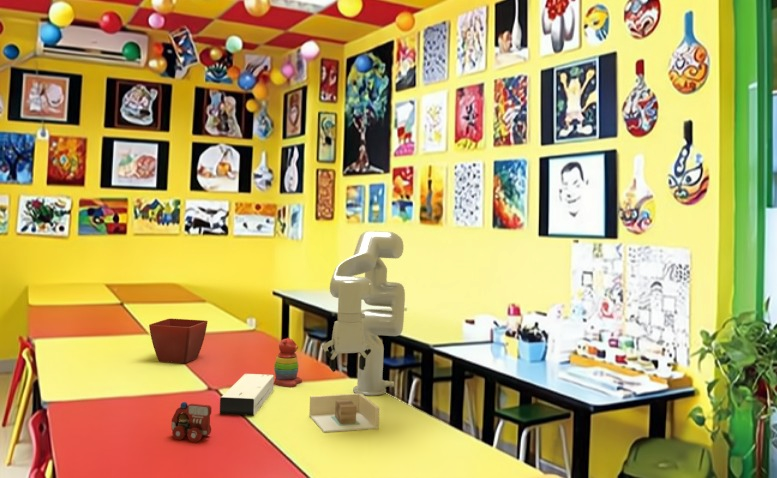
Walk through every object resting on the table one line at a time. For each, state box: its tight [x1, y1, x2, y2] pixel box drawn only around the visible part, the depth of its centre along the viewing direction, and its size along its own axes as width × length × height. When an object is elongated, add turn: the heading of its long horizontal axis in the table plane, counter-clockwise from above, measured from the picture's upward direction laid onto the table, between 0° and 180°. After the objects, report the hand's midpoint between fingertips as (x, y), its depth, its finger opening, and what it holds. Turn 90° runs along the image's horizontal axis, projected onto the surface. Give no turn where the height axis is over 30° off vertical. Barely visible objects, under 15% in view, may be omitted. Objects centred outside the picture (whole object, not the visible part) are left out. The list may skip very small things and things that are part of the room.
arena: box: [309, 393, 380, 434], centre depth 220 cm, size 18×18×7 cm
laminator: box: [219, 373, 275, 417], centre depth 239 cm, size 34×12×6 cm, turn 179°
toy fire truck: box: [171, 401, 212, 443], centre depth 199 cm, size 7×12×10 cm, turn 74°
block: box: [335, 400, 356, 424], centre depth 219 cm, size 8×5×6 cm, turn 18°
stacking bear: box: [273, 337, 303, 388], centre depth 266 cm, size 11×10×18 cm
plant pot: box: [148, 318, 208, 364], centre depth 299 cm, size 19×19×17 cm
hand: (347, 369), depth 219 cm, fingers open, 9 cm apart
